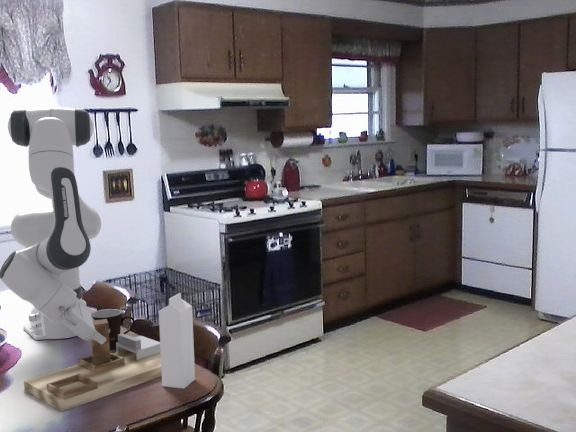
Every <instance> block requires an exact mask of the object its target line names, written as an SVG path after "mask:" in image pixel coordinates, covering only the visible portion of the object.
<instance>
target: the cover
mask: <svg viewBox="0 0 576 432" xmlns="http://www.w3.org/2000/svg"><path fill="white" fill-rule="evenodd" d="M123 333H124V332H122V333H120V334H118V343H116V349H115V351H116V352H120V351H124V350H128V351H131V352H133V353H136V360H140V359H143V358H146V357H149V356H152V355H155V354H158V353H161V349H160V341H158V340H155V339H152V338H149V337H146V336H143V335H138V336H131V335H129V334H127V333H126V334H123ZM116 352H115V353H116Z"/></svg>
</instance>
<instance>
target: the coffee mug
mask: <svg viewBox="0 0 576 432" xmlns="http://www.w3.org/2000/svg"><path fill="white" fill-rule="evenodd" d="M90 313H91V317H92V318H93V319H94V320H101V319H107V321H108V328H109V345H110V351H112V350H116V343H118V334H121V328H122V327H121V326H122V324H123V322H124V321H125V320H126V319H130V320H131V321H132V323H133V324H132V325H131V327H130V328H128V329H127V330H126V331H124V332H122V333H123V334H126V335H127V333H130V331H131V330H132V329H134V328H135V326H136V325H135V324H136V320H135V318H134V317H133V316H129V315H126V316H124V317H122V313H123V312H122V310H120V309H116V308H114V309H113V308H105V309H99V310H96V311H92V312H90Z"/></svg>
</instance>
